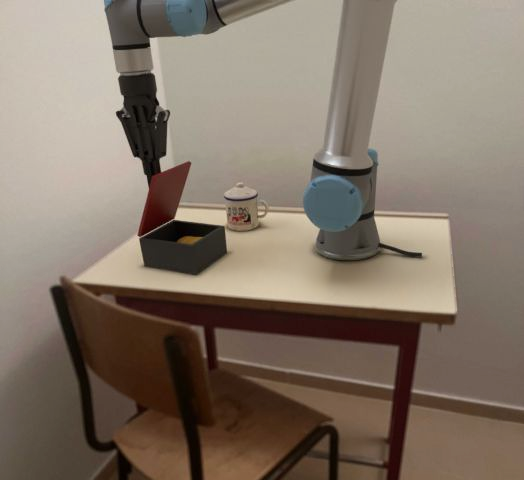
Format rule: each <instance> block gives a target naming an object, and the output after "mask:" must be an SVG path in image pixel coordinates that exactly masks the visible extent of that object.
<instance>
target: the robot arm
mask: <svg viewBox="0 0 524 480" xmlns="http://www.w3.org/2000/svg"><path fill="white" fill-rule="evenodd" d="M294 1H295V0H103V4H104V9H103V10H104V13H105V17H106V21H107V27H108V31H109V36H110V40H111V47H112V53H113V60H114V65H115V71H116V73H117V74H119V75H118V77H117V82H118V87H119V92H120V95H121V96H122V97H123V102H122V108H121V109H119V110H117V111H115V115H116V117H117V119H118V120H119V122H120V123H121V126H122V129H123V133H124V134H125V138H126V140H127V143H128V145H129V149H130V151H131V154H132V156H133V157H134V158H137V159H139V161H141V164H142V171H143V174H144V176H145V177H146V181H147V186H148V188H149V187H150V183H151V179H152V176H154V175H156V174H159V173H161V172H162V167H161V162H160V161H161V159H162V158H164V157H166V156H167V147H168V124H169V123H168V122H169V119H170V115H171V111H170V110H169V109H164V108H163V107H162V106H160V102H159V100H158V98H157V92H158V86H157V79H156V75H155V74H154V73H153V72H152V71H153V70H154V68H155V67H154V61H153V55H152V48H151V46H152V45H151V39H155V38H174V37H175V38H176V37H183V38H186V37H192V36H198V35H205V36H206V35H211V34H214V33H216V32H218V31H219V30H220V29H221V28H224V27H226V26H229V25H231V24H234V23H237V22H240V21H242V20H245V19H247V18H250V17H253V16H256V15H258V14H261V13H264V12H266V11H269V10H273V9H274V8H277V7H280V6H283V5H286V4H287V3H292V2H294ZM397 1H398V0H342V4H341V5H342V6H341V13H340V18H339V19H340V20H339V27H338V34H337V39H336V48H335V55H334V63H333V70H332V77H331V85H330V92H329V100H328V101H329V102H328V107H327V114H326V121H325V127H324V135H323V144H322V147H321V148H320V149H319V150H317V152H315V153H314V154H313V158H312V166H311V173H310V174H311V175H310V181H309V183H308V184H307V185H306V186H307V187H306V188H305V191H304V193H303V198H302V205H303V210H304V213H305V215H306V217H307V219H309V221H310V222H311V224H312V225H313V226H314V227H316V228H318V229H319V230H318V233H317V237H316V239H315V251H316V252H317V254H318V255H320V256H321V257H324V258H327V259H331V260H336V261H359V260H365V259H369V258H371V257H374V256H375V255H377V254H379V252H380V250H381V249H383V250H387V251H392V252H394V253H396V254H397V253H398V254H400V255H404V256H408V257H416V258H417V257H418V258H422V257H423V252H415V251H407V250H404V249H400V248H399V247H395V246H392V245H389V244H386V243H382V242H381V238H380V234H379V231H378V227H377V223H376V219H375V208H376V192H377V177H378V176H377V175H378V166H379V157H378V156H379V154H378V151H376V149H373V148H369V144H370V138H371V134H372V128H373V122H374V117H375V112H376V108H377V107H376V106H377V102H378V96H379V91H380V84H381V80H382V73H383V68H384V65H385V58H386V52H387V47H388V42H389V36H390V30H391V27H392V26H391V25H392V20H393V16H394V10H395V5H396V3H397Z"/></svg>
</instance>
